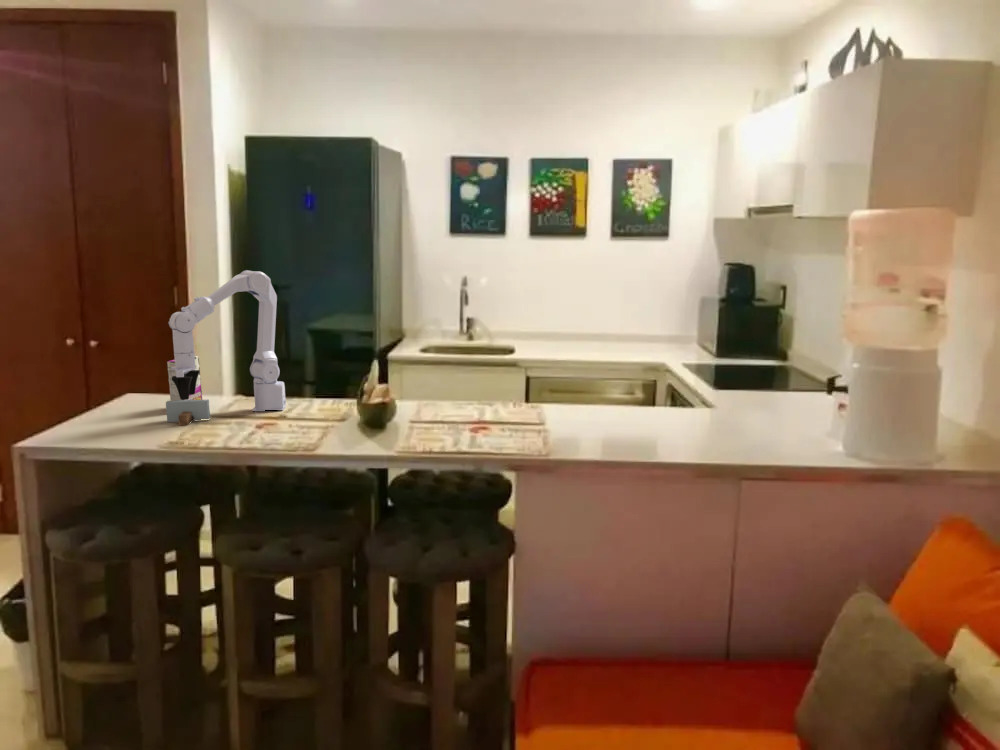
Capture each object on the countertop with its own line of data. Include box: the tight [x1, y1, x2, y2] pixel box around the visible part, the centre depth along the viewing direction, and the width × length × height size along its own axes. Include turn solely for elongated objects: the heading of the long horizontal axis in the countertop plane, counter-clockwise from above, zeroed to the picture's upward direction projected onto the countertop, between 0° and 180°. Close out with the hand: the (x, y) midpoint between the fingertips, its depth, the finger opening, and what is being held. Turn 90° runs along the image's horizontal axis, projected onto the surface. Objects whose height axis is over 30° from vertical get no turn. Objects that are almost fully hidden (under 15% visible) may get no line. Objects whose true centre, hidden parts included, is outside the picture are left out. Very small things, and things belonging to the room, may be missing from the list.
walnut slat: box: [178, 412, 194, 427], centre depth 260 cm, size 2×14×3 cm, turn 6°
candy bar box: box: [166, 355, 203, 401], centre depth 276 cm, size 11×5×16 cm, turn 168°
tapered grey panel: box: [165, 399, 211, 423], centre depth 260 cm, size 12×2×6 cm, turn 96°
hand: (187, 396), depth 259 cm, fingers open, 7 cm apart
